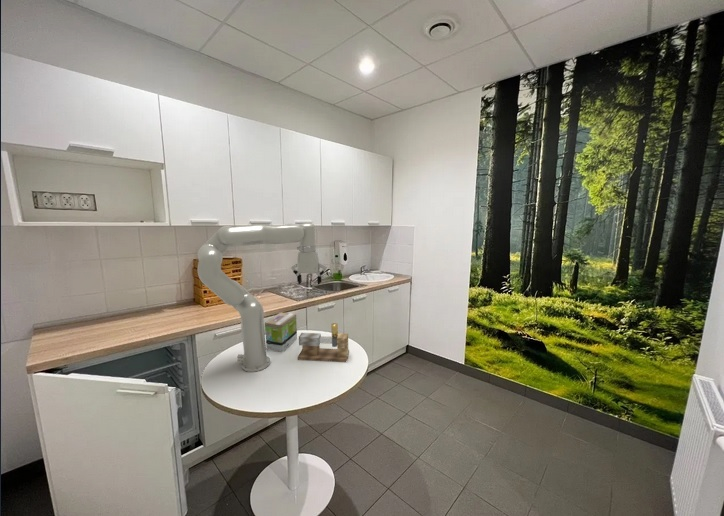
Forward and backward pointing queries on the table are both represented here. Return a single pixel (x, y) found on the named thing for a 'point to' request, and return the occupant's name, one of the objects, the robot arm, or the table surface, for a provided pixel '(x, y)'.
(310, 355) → the base
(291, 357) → the table surface
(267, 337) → the tea box
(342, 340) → the socket block
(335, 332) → the brass knob sliding bolt
